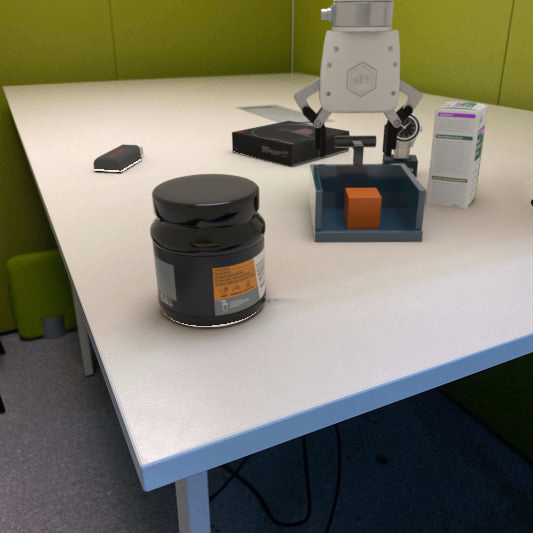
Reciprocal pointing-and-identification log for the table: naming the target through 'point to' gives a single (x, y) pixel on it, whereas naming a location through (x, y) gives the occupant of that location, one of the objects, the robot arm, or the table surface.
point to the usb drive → (119, 157)
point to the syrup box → (456, 153)
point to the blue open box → (365, 176)
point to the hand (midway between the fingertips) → (354, 154)
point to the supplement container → (208, 248)
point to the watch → (405, 144)
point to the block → (362, 207)
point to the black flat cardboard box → (285, 142)
